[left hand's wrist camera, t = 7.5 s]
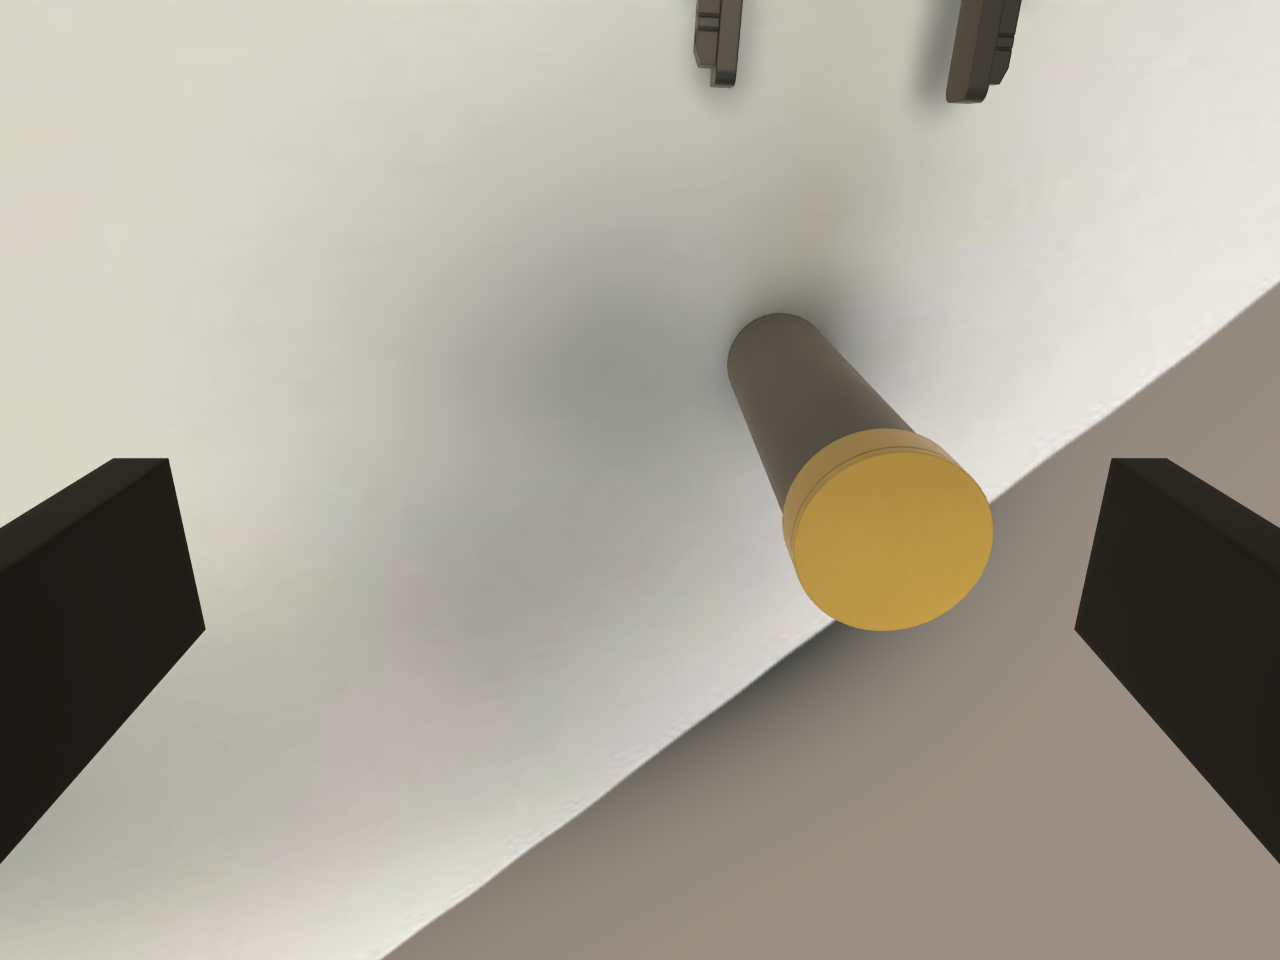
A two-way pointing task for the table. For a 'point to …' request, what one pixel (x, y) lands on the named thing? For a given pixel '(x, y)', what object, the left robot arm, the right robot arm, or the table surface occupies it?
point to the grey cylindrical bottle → (799, 395)
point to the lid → (886, 530)
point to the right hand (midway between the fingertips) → (844, 94)
